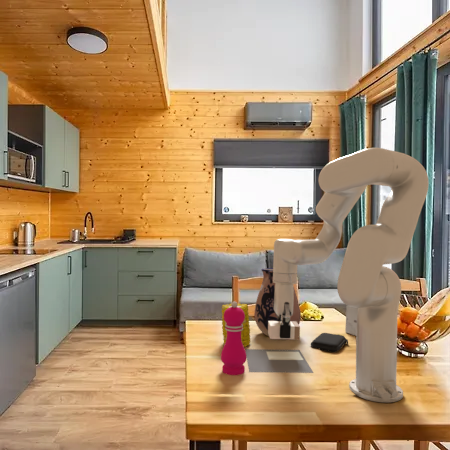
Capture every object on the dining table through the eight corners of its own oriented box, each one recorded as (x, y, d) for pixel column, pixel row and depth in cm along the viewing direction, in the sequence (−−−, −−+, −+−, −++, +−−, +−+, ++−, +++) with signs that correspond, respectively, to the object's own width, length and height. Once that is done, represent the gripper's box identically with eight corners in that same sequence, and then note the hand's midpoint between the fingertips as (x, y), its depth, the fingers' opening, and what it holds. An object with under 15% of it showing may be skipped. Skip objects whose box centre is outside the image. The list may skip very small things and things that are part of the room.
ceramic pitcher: (247, 337, 143) (248, 270, 143) (264, 324, 162) (265, 265, 162) (294, 344, 136) (295, 273, 136) (306, 329, 155) (307, 267, 155)
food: (238, 356, 127) (218, 349, 135) (261, 341, 135) (241, 336, 142) (229, 312, 125) (209, 308, 133) (253, 299, 133) (233, 296, 141)
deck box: (270, 338, 119) (270, 325, 119) (267, 333, 126) (268, 320, 125) (299, 339, 119) (299, 326, 119) (295, 333, 126) (296, 321, 125)
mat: (313, 374, 108) (313, 372, 108) (249, 373, 108) (249, 371, 108) (299, 351, 128) (299, 349, 128) (245, 350, 128) (245, 349, 128)
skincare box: (344, 332, 152) (345, 301, 152) (353, 331, 154) (353, 300, 154) (356, 336, 146) (357, 304, 146) (365, 335, 148) (365, 303, 149)
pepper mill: (224, 378, 104) (225, 304, 104) (217, 369, 111) (218, 299, 111) (249, 376, 106) (250, 303, 106) (241, 366, 113) (242, 298, 113)
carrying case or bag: (340, 355, 126) (350, 343, 138) (341, 346, 126) (350, 335, 138) (308, 349, 131) (321, 339, 144) (309, 340, 131) (321, 330, 144)
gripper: (269, 273, 131) (268, 326, 131) (276, 282, 114) (275, 343, 114) (291, 274, 131) (290, 327, 131) (302, 282, 114) (300, 343, 114)
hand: (283, 334), depth 122 cm, fingers closed on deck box, 6 cm apart
